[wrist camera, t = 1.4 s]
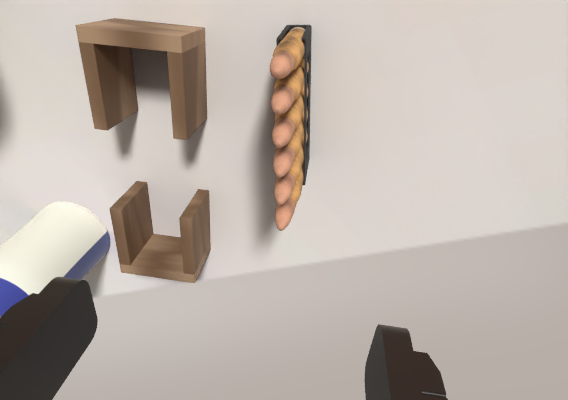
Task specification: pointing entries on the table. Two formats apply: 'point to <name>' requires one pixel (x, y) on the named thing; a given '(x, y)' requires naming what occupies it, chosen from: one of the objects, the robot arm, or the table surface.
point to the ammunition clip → (291, 117)
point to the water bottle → (50, 251)
